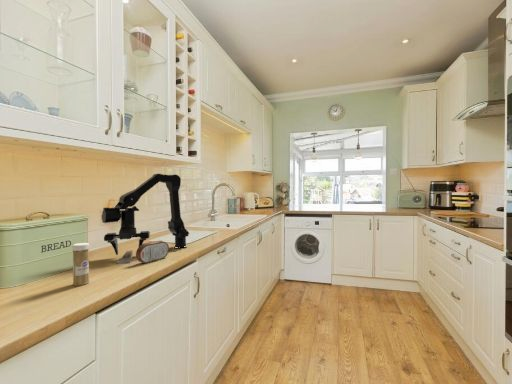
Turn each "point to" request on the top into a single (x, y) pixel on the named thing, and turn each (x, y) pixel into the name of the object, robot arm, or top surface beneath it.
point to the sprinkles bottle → (80, 264)
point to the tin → (152, 251)
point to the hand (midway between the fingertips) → (128, 254)
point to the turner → (126, 257)
